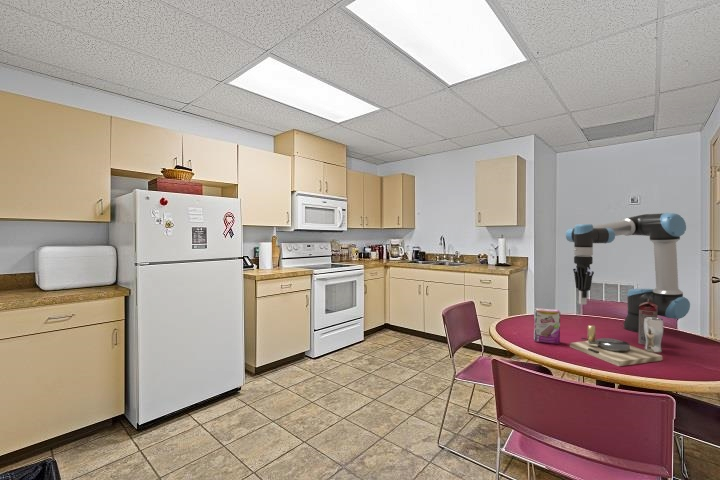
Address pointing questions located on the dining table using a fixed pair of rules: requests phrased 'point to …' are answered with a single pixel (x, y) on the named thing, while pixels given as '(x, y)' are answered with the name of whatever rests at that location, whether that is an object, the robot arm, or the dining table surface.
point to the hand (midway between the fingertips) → (582, 303)
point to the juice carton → (645, 311)
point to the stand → (617, 354)
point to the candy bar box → (547, 326)
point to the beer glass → (653, 334)
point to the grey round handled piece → (607, 342)
